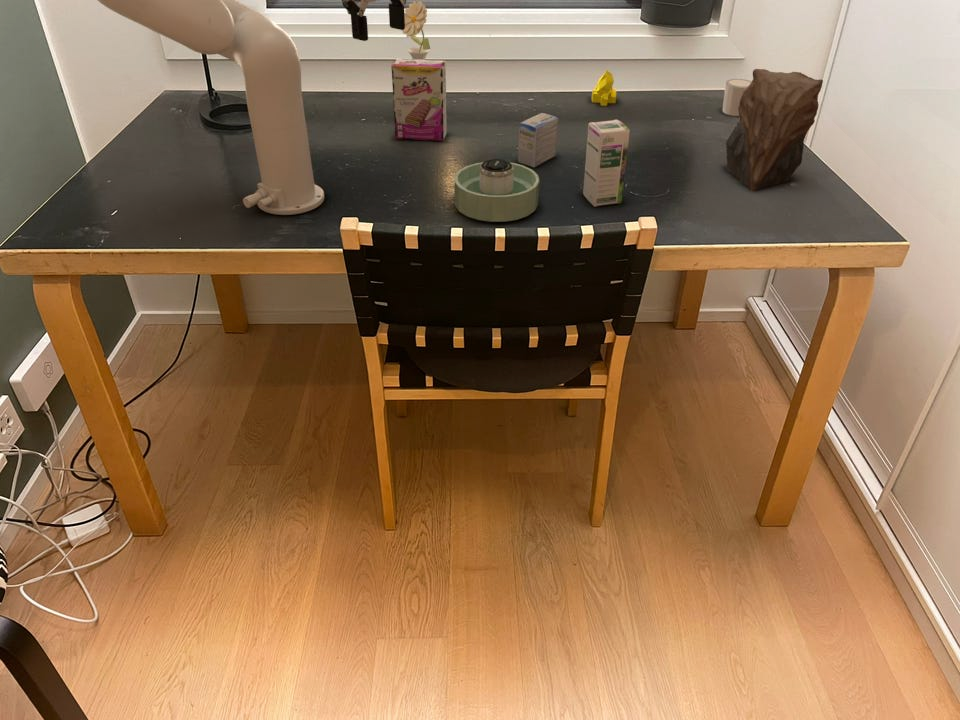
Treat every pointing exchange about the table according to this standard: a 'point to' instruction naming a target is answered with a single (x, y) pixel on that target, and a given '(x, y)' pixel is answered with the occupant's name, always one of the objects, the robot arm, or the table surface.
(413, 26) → the flower in vase
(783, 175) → the owl
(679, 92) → the table surface
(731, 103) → the white cylinder
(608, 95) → the yellow crystal cluster
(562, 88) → the table surface
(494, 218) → the bowl
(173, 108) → the table surface
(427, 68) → the candy bar box
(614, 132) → the syrup box
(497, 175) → the camera lens
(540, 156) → the medicine box
